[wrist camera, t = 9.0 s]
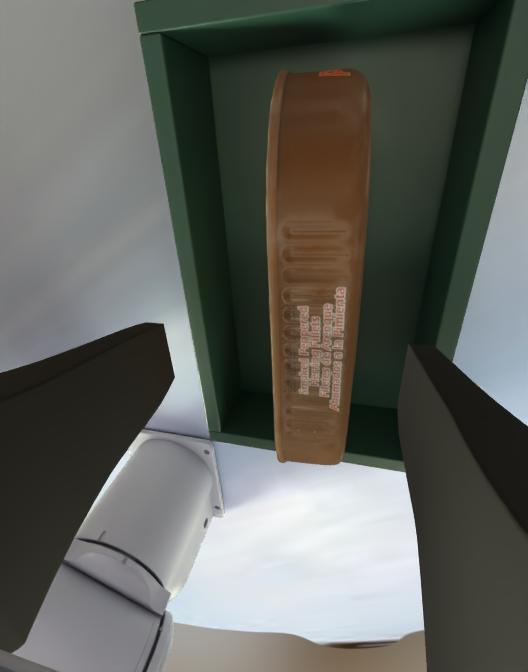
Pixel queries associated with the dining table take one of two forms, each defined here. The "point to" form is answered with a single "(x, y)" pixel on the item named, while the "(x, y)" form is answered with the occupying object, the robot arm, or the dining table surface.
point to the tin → (316, 254)
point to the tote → (385, 180)
